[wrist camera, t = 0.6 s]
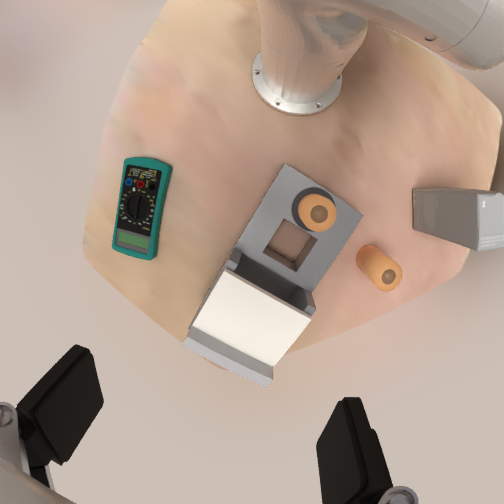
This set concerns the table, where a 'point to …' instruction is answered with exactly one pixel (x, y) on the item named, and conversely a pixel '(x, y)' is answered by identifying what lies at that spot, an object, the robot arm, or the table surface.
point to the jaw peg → (379, 268)
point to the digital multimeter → (140, 207)
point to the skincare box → (461, 216)
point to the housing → (303, 216)
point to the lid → (245, 328)
